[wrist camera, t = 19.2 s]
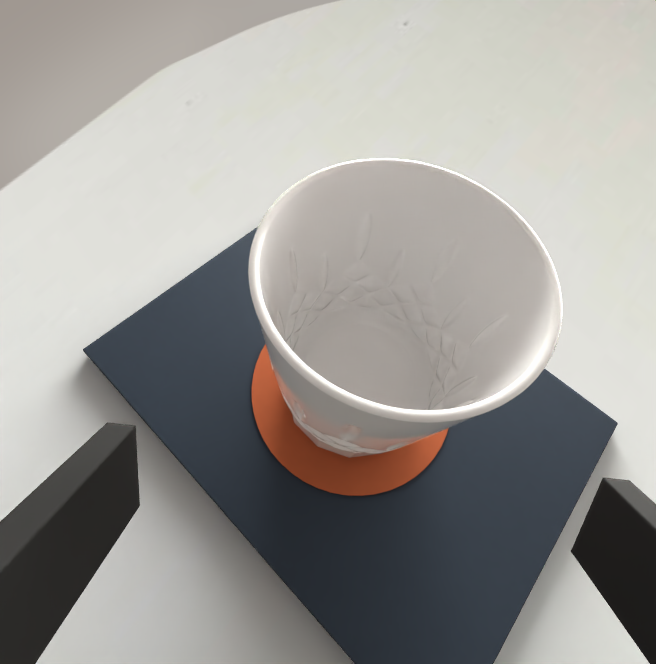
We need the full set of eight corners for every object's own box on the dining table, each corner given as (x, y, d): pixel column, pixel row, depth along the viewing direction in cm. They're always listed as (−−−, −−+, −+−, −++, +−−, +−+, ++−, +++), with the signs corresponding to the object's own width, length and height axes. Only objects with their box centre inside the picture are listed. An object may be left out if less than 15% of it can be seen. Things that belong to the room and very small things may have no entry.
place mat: (88, 354, 18) (80, 348, 18) (306, 198, 24) (307, 190, 24) (436, 753, 13) (443, 766, 12) (609, 425, 19) (620, 422, 18)
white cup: (254, 341, 19) (214, 185, 10) (391, 301, 20) (463, 138, 12) (303, 499, 16) (311, 481, 7) (459, 436, 17) (632, 354, 8)
